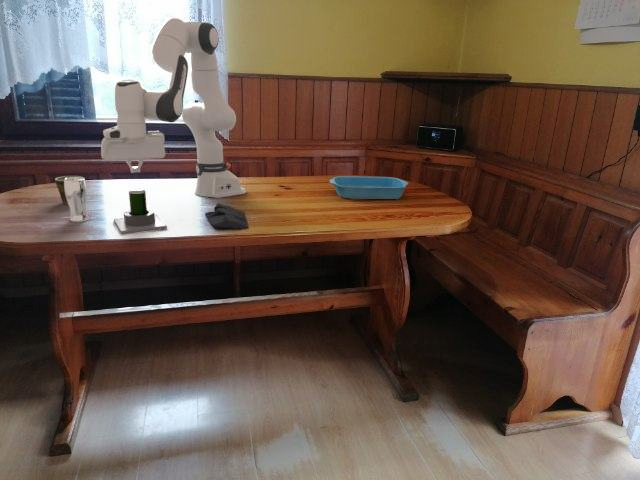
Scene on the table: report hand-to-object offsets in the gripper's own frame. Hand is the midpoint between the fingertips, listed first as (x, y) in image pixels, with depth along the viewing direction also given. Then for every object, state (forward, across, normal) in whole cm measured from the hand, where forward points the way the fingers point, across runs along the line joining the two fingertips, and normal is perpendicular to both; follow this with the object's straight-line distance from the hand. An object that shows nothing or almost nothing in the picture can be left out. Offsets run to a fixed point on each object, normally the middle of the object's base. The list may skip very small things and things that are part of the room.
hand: (135, 172), depth 165 cm
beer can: (+18, 0, 0) cm, 18 cm away
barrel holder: (+19, 0, 0) cm, 19 cm away
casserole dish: (+19, -104, -6) cm, 106 cm away
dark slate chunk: (+20, -30, +7) cm, 36 cm away
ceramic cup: (+19, +19, -41) cm, 49 cm away
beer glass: (+19, +18, -15) cm, 30 cm away
